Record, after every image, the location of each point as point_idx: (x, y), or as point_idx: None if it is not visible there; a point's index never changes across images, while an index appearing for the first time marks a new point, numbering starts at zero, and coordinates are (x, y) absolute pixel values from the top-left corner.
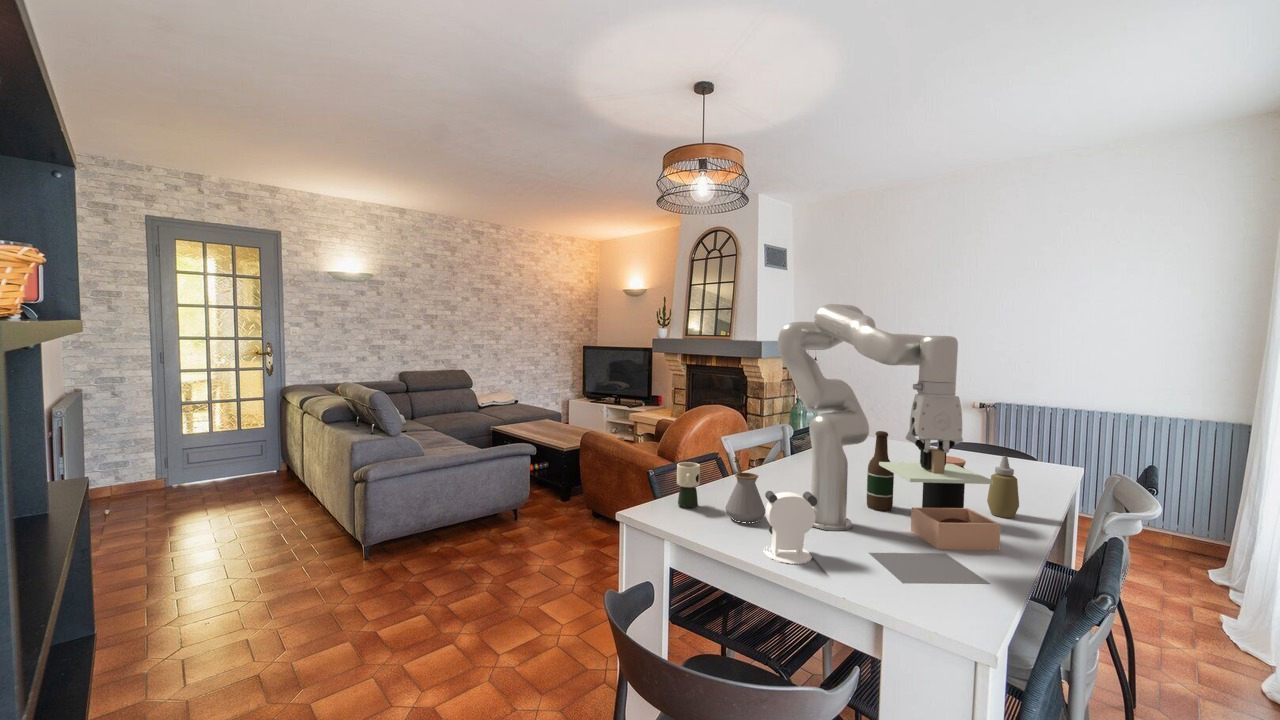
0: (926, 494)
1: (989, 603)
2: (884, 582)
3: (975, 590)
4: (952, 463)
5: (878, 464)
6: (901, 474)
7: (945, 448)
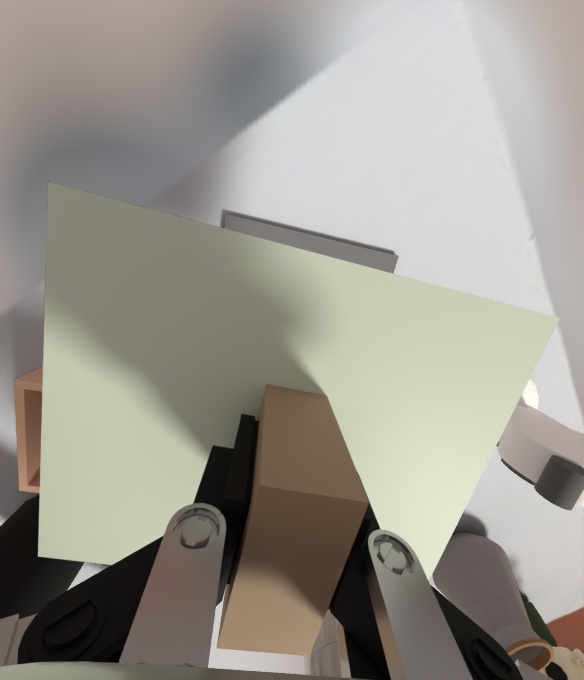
0: (68, 578)
1: (291, 150)
2: (417, 275)
3: (272, 207)
4: None
5: None
6: (512, 405)
7: (206, 549)
